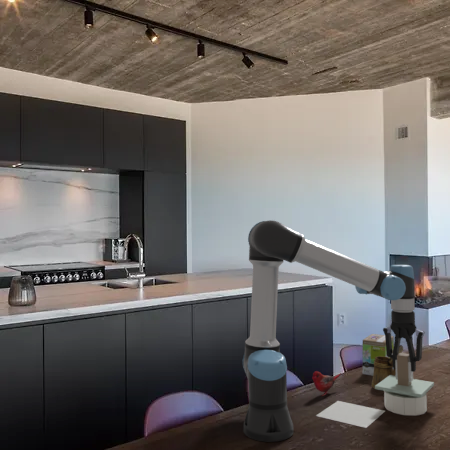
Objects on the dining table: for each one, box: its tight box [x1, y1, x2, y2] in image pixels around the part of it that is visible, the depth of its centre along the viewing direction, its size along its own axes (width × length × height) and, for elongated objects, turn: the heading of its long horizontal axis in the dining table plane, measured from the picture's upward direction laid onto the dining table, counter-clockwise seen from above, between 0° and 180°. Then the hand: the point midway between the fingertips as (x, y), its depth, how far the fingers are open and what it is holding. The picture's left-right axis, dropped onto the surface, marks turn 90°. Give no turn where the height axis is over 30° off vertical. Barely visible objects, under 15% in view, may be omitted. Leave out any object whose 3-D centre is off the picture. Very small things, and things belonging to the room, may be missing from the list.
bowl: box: [383, 391, 428, 417], centre depth 162 cm, size 13×13×6 cm
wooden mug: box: [370, 344, 404, 390], centre depth 184 cm, size 9×14×18 cm, turn 30°
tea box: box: [362, 333, 395, 377], centre depth 207 cm, size 15×10×15 cm
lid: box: [374, 352, 435, 398], centre depth 163 cm, size 15×15×11 cm
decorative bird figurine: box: [311, 370, 342, 397], centre depth 178 cm, size 3×18×10 cm, turn 131°
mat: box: [315, 400, 386, 429], centre depth 158 cm, size 17×17×1 cm
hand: (404, 379), depth 163 cm, fingers closed on lid, 3 cm apart
